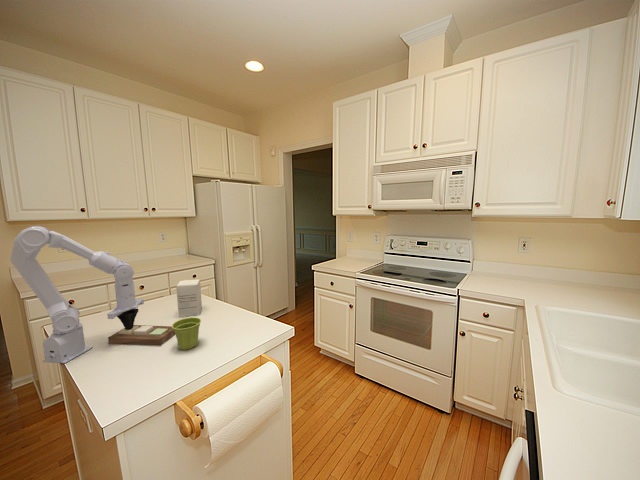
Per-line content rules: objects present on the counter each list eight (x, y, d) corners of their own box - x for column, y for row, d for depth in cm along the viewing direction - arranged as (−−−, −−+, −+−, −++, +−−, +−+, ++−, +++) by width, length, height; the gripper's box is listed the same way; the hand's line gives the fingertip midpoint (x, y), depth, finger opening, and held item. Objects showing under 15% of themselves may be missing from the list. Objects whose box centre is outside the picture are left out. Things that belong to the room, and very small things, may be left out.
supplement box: (182, 310, 125) (179, 280, 123) (202, 308, 128) (200, 278, 126) (178, 317, 116) (175, 285, 114) (199, 315, 119) (197, 283, 117)
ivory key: (145, 337, 96) (144, 331, 96) (134, 337, 96) (133, 331, 96) (153, 332, 100) (153, 326, 100) (143, 331, 101) (142, 325, 100)
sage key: (160, 340, 96) (160, 334, 95) (149, 340, 96) (149, 333, 96) (168, 334, 100) (168, 328, 100) (157, 334, 100) (157, 328, 100)
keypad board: (160, 345, 93) (159, 339, 92) (108, 343, 94) (107, 337, 94) (177, 332, 103) (177, 326, 102) (130, 330, 104) (130, 324, 104)
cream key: (130, 338, 97) (129, 331, 96) (119, 337, 97) (118, 331, 97) (139, 332, 101) (138, 326, 101) (128, 332, 101) (128, 325, 101)
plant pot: (170, 354, 87) (168, 330, 86) (177, 340, 96) (175, 318, 95) (200, 350, 90) (198, 327, 89) (204, 337, 99) (203, 315, 98)
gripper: (119, 302, 89) (123, 338, 91) (149, 288, 104) (152, 320, 105) (100, 301, 90) (104, 338, 92) (133, 288, 104) (136, 320, 106)
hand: (129, 328), depth 99 cm, fingers closed, pressing on cream key
